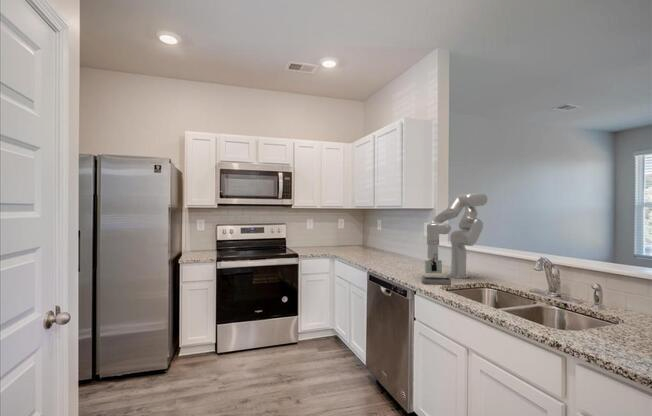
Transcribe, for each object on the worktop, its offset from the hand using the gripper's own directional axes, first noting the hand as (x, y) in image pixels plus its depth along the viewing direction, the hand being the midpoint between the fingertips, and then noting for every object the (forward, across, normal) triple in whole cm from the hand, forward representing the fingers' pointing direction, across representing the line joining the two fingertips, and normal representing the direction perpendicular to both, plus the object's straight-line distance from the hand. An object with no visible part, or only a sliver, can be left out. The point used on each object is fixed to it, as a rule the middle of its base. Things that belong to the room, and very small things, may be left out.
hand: (433, 270), depth 214 cm
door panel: (+2, 0, 0) cm, 2 cm away
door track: (+6, +11, -1) cm, 13 cm away
